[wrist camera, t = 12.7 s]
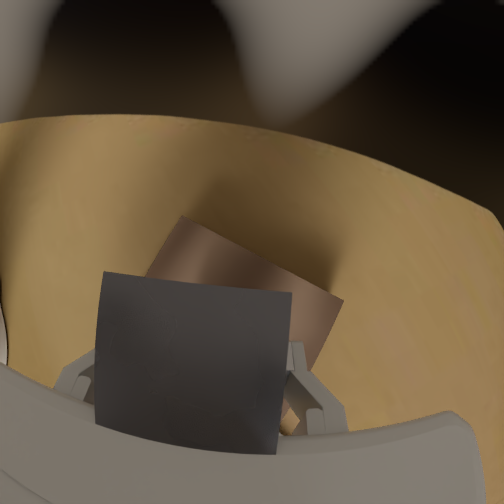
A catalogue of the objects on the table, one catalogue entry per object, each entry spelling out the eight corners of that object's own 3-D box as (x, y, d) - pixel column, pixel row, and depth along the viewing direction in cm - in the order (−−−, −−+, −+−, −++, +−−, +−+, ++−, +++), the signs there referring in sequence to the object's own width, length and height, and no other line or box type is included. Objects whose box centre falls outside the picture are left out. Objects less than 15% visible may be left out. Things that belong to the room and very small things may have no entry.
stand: (117, 362, 21) (98, 368, 17) (190, 231, 24) (182, 215, 20) (254, 438, 20) (257, 457, 16) (327, 304, 23) (344, 300, 20)
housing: (175, 376, 16) (96, 440, 5) (181, 302, 17) (103, 271, 6) (251, 385, 16) (273, 470, 5) (258, 310, 17) (292, 292, 7)
